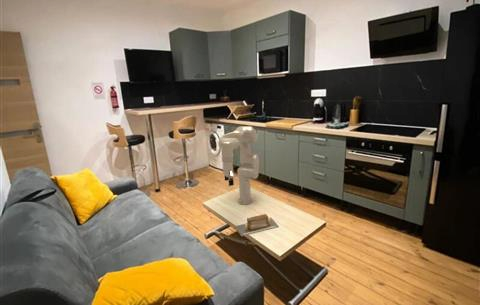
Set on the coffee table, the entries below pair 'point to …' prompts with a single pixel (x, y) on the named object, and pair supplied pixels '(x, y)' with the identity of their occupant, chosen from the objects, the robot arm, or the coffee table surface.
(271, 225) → the board
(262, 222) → the wooden block
